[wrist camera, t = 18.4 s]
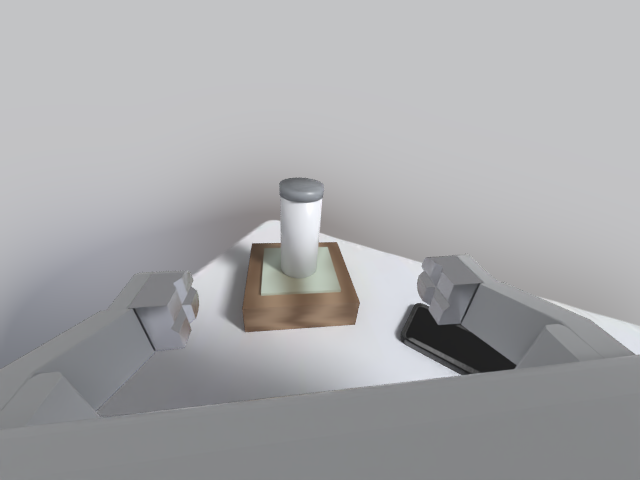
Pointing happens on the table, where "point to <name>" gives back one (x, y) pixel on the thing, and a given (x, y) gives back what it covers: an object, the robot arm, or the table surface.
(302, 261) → the canister
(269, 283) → the walnut base
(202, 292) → the table surface
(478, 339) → the phone
